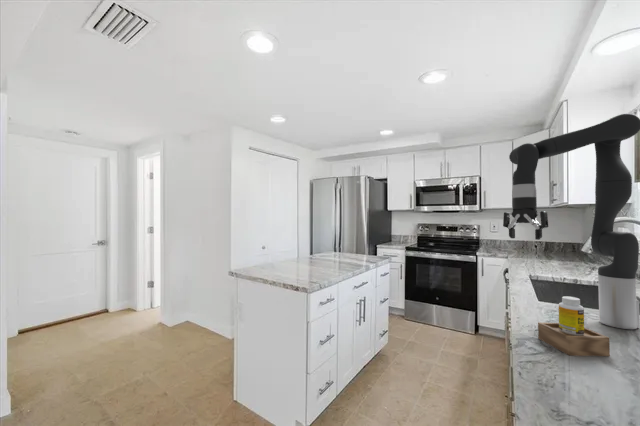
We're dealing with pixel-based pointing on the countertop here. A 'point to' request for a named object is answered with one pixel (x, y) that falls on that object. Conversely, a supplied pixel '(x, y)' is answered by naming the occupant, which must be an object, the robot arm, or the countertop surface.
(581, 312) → the supplement bottle
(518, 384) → the countertop surface
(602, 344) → the walnut tray
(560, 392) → the countertop surface
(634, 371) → the countertop surface
